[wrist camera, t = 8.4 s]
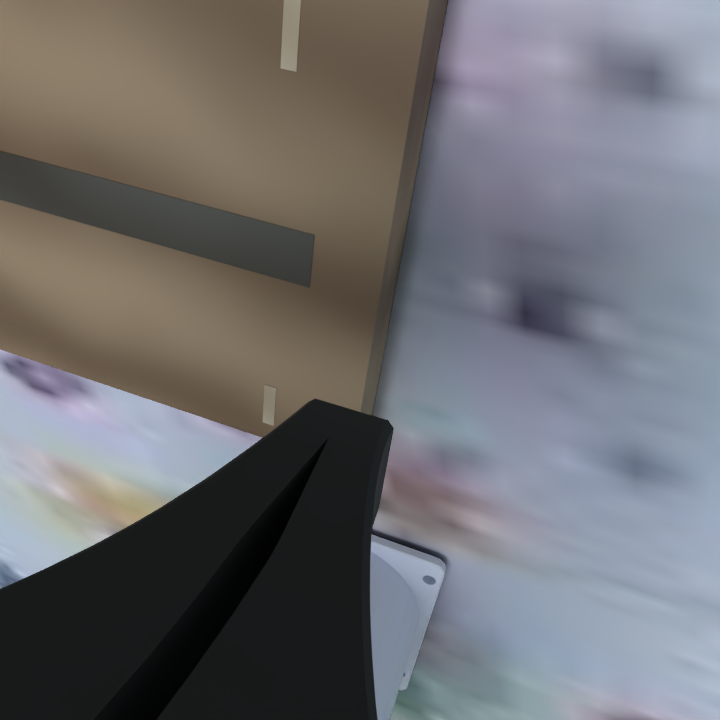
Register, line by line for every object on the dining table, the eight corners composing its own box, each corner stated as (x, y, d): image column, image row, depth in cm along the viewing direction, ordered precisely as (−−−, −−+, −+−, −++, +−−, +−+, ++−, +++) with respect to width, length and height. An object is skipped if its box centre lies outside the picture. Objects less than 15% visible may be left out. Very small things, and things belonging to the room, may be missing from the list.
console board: (369, 429, 23) (350, 467, 21) (-130, 268, 27) (-177, 290, 25) (453, -28, 15) (432, -22, 13) (-284, -160, 19) (-367, -167, 17)
